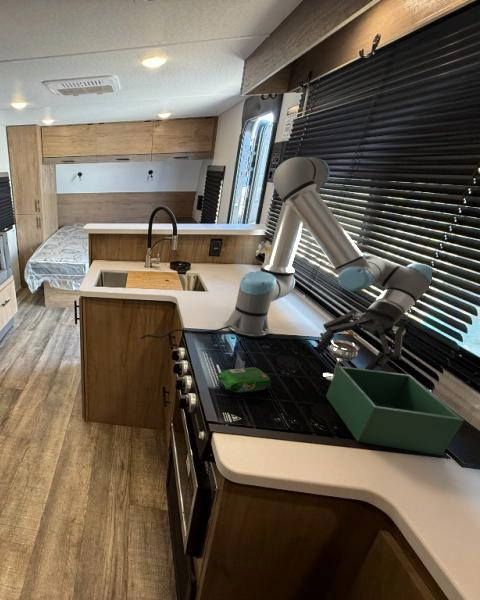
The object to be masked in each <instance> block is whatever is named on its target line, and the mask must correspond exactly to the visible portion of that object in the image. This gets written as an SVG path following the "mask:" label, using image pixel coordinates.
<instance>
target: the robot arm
mask: <svg viewBox="0 0 480 600" xmlns="http://www.w3.org/2000/svg"><path fill="white" fill-rule="evenodd" d="M330 171H331V169H330V166H329V165H328V163H327V162H326V161H325V160H324V159H321V158H318V157H312V156H309V157H307V156H306V157H304V156H295V157H291V158H288V159H286V160H284V161H283V162H281V163H280V164H279V165H278V166H277V167H276V169H275V172H274V173H273V175H272V176H273V177H272V184H273V187H274V190H275V191H276V193H277V195H278V196H279V198H280V199H281V200H282V204H281V209H280V212H279V216H278V220H277V223H276V228H275V230H274V231H275V232H274V234H273V238H272V242H271V244H270V245H271V249H270V253H269V257H268V260H267V262H266V263H264V262H263V264H262V265H261V267H260V270H259V271H249V272H246V273H244V275H243V276H242V277H241V280H240V282H239V287H238V292H237V297H236V303H235V307H234V310H233V311H232V313H230V316H229V317H228V319H227V321H226V326H224V327H220V328H218V329H212V330H190V329H182V328H179V329H178V328H176V329H172V330H169V331H168V332H167V333H165V334H162V335H154V334H144V335H142V336H141V337H140V338H139V339H140V340H143V339H144V338H147V337H148V338H149V337H150V338H156V339H161V338H165V337H166V336H168V335H169V334H171V333H174V332H186V333H191V334H208V333H214V332H215V333H216V332H219V331H223V330H226V329H228V330H229V331H231V332H232V333H233V334H235V335H239V336H241V337H245V338H249V339H261V338H265V337H267V336H268V334H269V329H270V327H269V319H268V313H269V310H270V306H271V303H272V302H274V301H276V300H277V301H278V300H279V299H282V298H284V297H286V296H288V295H289V294H290V293H291V292H292V291H293V290H294V287H295V284H296V280H295V279H296V278H295V277H294V275H295V268H294V267H293V263H294V259H295V256H296V252H297V249H298V246H299V242H300V240H301V237H302V232H303V229H304V227H305V228H306V230H307V232H309V234H310V235H311V236H312V238H313V240H314V241H315V242H316V244H317V245H318V247H319V248H320V249H321V251H322V253H323V254H324V256H325V257H326V258H327V260H328V262H330V264H331V265H332V267H333V269H334V270H335V271H336V272H337V274H338V276H337V283H338V284H339V286H340V287H341V288H342V289H344V290H346V291H349V292H360V291H362V290H366V289H368V288H369V287H371V286H372V285H373V284H375V285H378V286H380V287H382V288H385V290H384V291H383V292H382V293H381V294H380V295H379V296H377V298H376V299H375V301H374V302H373V303H372V304H370V306H369V307H368V308H367V309H366V310H365V311H364V313H360V312H357V311H356V310H355V309H351V310H349V312H347V313H345V314H344V315H341V316H339V317H337V318H334V319H332V320H330V321H327V322H325V323H323V324H322V327H323V328H324V330H325V331H324V333H323V334H322V335H321V336H320V339H321V340H320V341H319V342H318V344H317V345H316V348H317V350H318V351H320V352H321V351H322V350H324V348H325V347H326V346H327V345H328V344H329V343H330V342H331V341H332V340H333V338H335V335H336V334H339V333H343V332H348V331H353V330H361V329H362V331H364V332H368V333H370V334H372V335H378V337H379V340H380V343H381V347H382V350H383V352H379V353H378V354H377V355H376V356H375V357H374V358H373V359H372V361H371V362H369V363H368V365H367V366H365V368H364V369H367V370H375V369H376V368H377V367H380V368H382V367H384V365H386V363H387V362H388V361H389V360H395V361H401V360H402V348H403V337H404V336H405V335H406V333H407V332H406V327H405V326H402V325H401V326H396V324H397V323H398V322H399V321H400V320H401V319H402V318H403V316H404V315H405V314H406V313H407V312H408V311H409V310H410V309H411V308H412V307H413V306H414V305H415V303H416V302H417V301H419V300H420V299H421V297H422V296H423V295H424V294H425V293H426V292H427V291H428V290H429V289H430V288H429V286H430V284H431V281H432V272H433V269H434V268H433V267H432V266H430V265H427V264H426V263H418V262H413V263H409V264H407V265H406V266H403V265H398V264H396V263H393V262H391V261H387V260H386V259H382V258H379V257H377V256H375V255H373V254H368V253H365V252H361V250H360V249H359V248H358V246H357V244H355V242H354V241H353V239H352V238H351V237H350V235H349V234H348V233H347V231H346V230H345V229H344V227H343V225H342V224H341V223H340V221H339V220H338V219H337V217H336V216H335V215H334V213H333V212H332V211H331V209H330V208H329V207H328V205H327V204H326V202H325V201H324V200H323V198H322V197H321V196H320V191H321V189H322V188H323V187H324V186H325V185H326V184H327V182H328V180H329V178H330V175H331V174H330V173H331V172H330ZM429 266H430V267H429ZM431 267H432V268H433V269H432V268H431ZM430 287H431V286H430ZM428 288H429V289H428ZM352 320H353V321H352ZM350 321H351V322H350ZM391 331H393V334H394V347H393V352H391V351H390V346H389V344H388V341H387V337H386V334H385V333H388V332H391Z"/></svg>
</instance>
